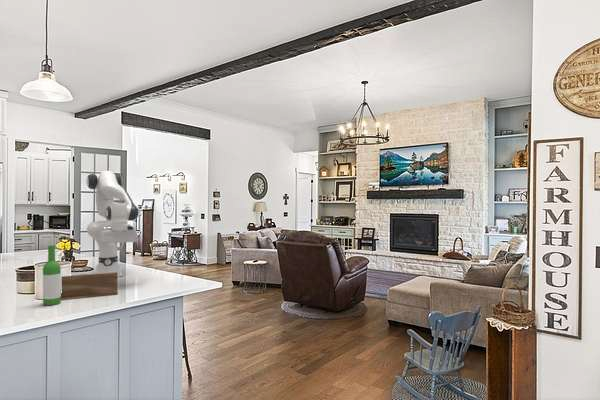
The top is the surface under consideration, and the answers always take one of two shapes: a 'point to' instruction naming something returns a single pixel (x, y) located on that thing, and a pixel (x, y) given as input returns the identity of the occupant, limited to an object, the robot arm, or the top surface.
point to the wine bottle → (51, 279)
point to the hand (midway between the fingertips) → (119, 250)
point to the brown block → (89, 285)
